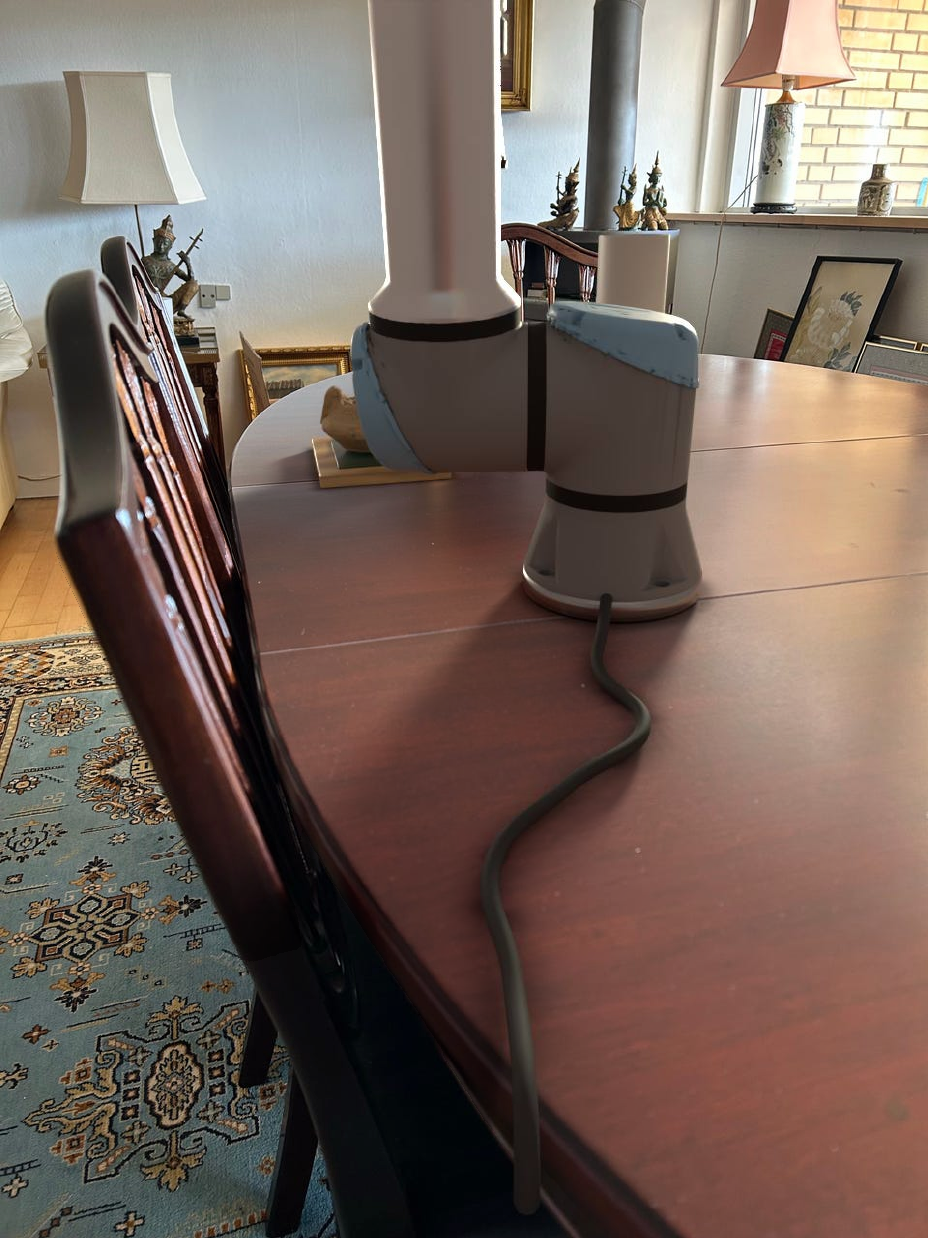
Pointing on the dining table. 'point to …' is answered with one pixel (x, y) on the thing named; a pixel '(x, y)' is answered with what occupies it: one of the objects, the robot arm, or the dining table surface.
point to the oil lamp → (342, 420)
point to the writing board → (357, 467)
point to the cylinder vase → (633, 270)
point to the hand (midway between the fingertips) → (475, 228)
